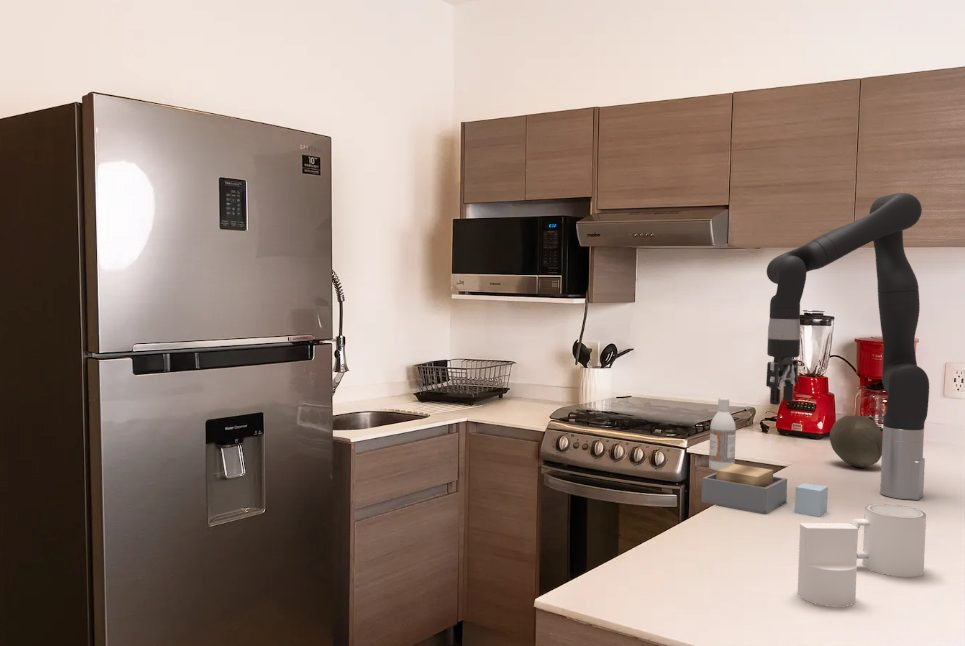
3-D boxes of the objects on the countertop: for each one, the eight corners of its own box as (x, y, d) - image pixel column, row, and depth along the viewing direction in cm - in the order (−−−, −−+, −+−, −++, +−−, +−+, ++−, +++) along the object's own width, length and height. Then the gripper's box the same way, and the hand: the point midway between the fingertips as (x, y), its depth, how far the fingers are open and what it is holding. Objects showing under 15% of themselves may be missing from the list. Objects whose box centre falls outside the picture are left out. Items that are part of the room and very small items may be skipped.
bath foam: (704, 466, 242) (706, 397, 241) (725, 465, 244) (727, 396, 243) (717, 472, 235) (720, 400, 234) (739, 471, 237) (741, 400, 236)
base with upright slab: (840, 587, 146) (843, 518, 146) (865, 607, 137) (868, 534, 137) (788, 586, 146) (791, 518, 145) (810, 606, 137) (813, 533, 136)
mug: (864, 578, 151) (866, 519, 151) (835, 559, 161) (837, 504, 161) (935, 576, 153) (938, 518, 152) (902, 558, 163) (904, 503, 162)
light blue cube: (826, 512, 195) (827, 486, 195) (819, 517, 191) (820, 491, 191) (802, 508, 199) (803, 482, 199) (794, 512, 195) (795, 487, 194)
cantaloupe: (872, 462, 252) (874, 412, 251) (890, 473, 238) (892, 420, 237) (823, 461, 253) (825, 411, 253) (838, 471, 239) (840, 418, 239)
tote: (786, 502, 203) (787, 478, 203) (766, 514, 193) (766, 488, 192) (724, 491, 213) (724, 468, 213) (701, 502, 202) (702, 478, 202)
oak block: (772, 498, 203) (773, 469, 203) (756, 506, 196) (758, 476, 195) (732, 491, 210) (733, 463, 209) (715, 499, 202) (716, 470, 202)
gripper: (788, 339, 201) (785, 407, 202) (809, 337, 212) (807, 401, 213) (757, 337, 206) (755, 404, 207) (779, 335, 217) (777, 398, 217)
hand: (781, 402), depth 210 cm, fingers open, 8 cm apart
